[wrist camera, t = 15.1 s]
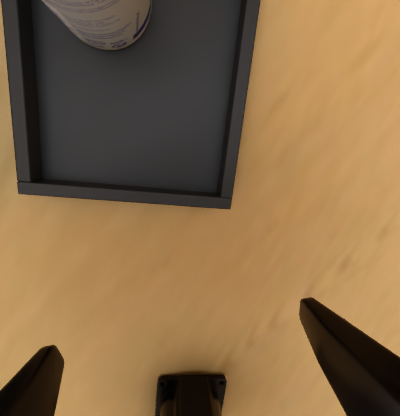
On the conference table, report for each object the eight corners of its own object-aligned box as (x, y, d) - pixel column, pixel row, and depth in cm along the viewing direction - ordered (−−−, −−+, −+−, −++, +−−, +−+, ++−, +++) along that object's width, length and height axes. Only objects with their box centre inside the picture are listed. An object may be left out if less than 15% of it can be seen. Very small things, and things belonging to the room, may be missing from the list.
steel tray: (224, 201, 19) (230, 209, 17) (35, 187, 18) (17, 194, 16) (263, -88, 15) (278, -122, 13) (11, -148, 13) (-18, -200, 11)
